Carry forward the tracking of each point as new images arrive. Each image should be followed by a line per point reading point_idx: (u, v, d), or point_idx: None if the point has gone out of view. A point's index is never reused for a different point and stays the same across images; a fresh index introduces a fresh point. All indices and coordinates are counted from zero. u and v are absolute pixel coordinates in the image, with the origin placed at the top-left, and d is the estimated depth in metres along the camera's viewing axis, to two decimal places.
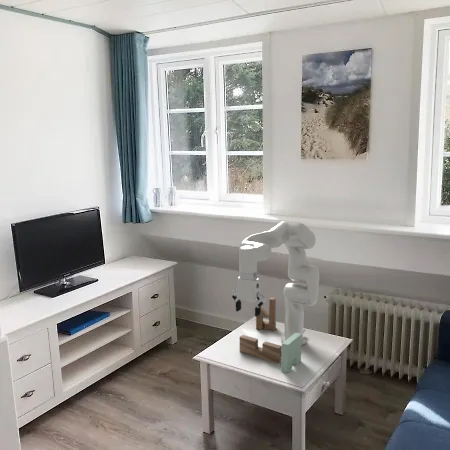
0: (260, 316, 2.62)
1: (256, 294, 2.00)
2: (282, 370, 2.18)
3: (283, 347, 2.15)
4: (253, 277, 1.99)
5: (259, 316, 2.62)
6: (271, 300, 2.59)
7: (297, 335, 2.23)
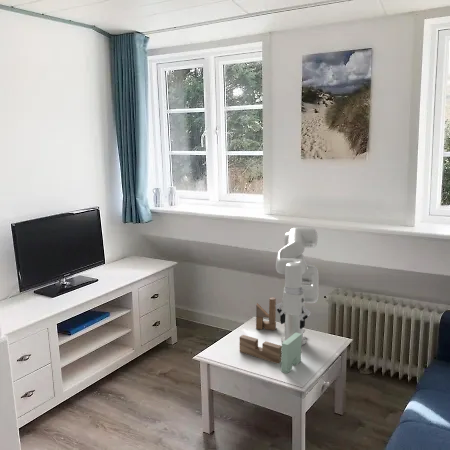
0: (260, 316, 2.62)
1: (301, 308, 2.12)
2: (282, 370, 2.18)
3: (283, 347, 2.15)
4: (298, 292, 2.12)
5: (259, 316, 2.62)
6: (271, 300, 2.59)
7: (297, 335, 2.23)
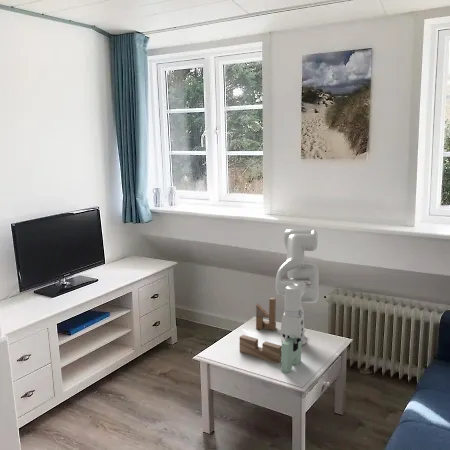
0: (260, 316, 2.62)
1: (300, 330, 2.15)
2: (282, 370, 2.18)
3: (283, 347, 2.15)
4: (298, 314, 2.14)
5: (259, 316, 2.62)
6: (271, 300, 2.59)
7: None
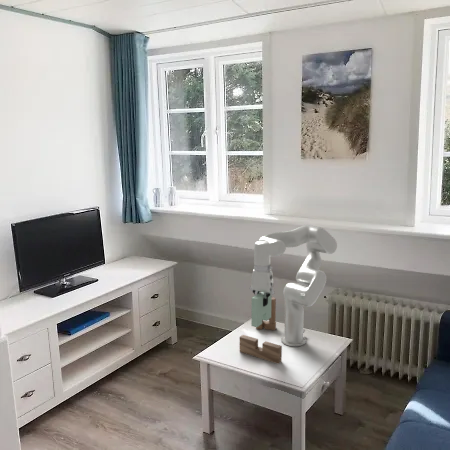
0: None
1: (270, 285, 2.20)
2: (252, 324, 2.23)
3: (253, 301, 2.20)
4: (267, 269, 2.20)
5: None
6: (271, 300, 2.59)
7: None
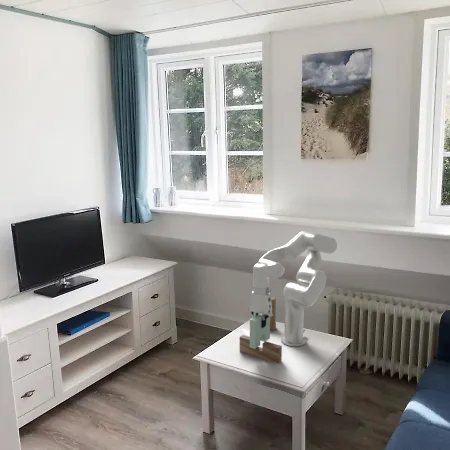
0: None
1: (268, 307, 2.23)
2: (250, 346, 2.25)
3: (251, 323, 2.23)
4: (265, 292, 2.22)
5: None
6: None
7: None
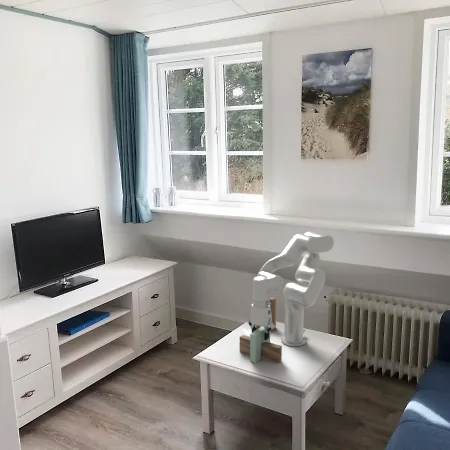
0: None
1: (268, 320, 2.24)
2: (251, 360, 2.27)
3: (251, 338, 2.25)
4: (265, 305, 2.24)
5: None
6: (271, 300, 2.59)
7: None
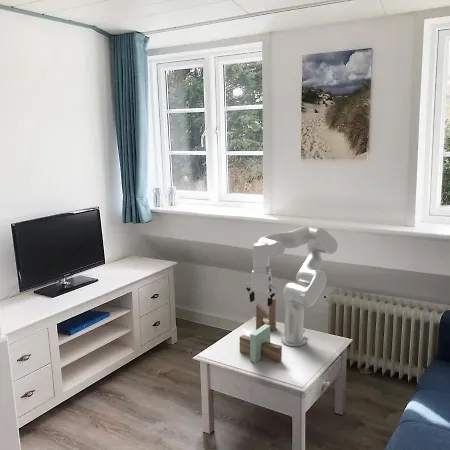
0: (260, 316, 2.62)
1: (268, 286, 2.21)
2: (251, 360, 2.27)
3: (251, 338, 2.25)
4: (266, 271, 2.20)
5: (259, 316, 2.62)
6: None
7: (266, 326, 2.33)
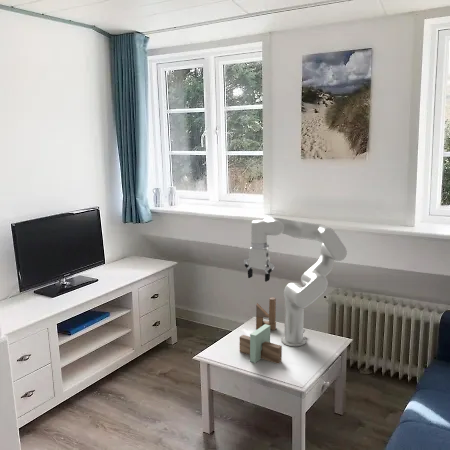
0: (260, 316, 2.62)
1: (266, 262, 2.29)
2: (251, 360, 2.27)
3: (251, 338, 2.25)
4: (263, 247, 2.28)
5: (259, 316, 2.62)
6: (271, 300, 2.59)
7: (266, 326, 2.33)
